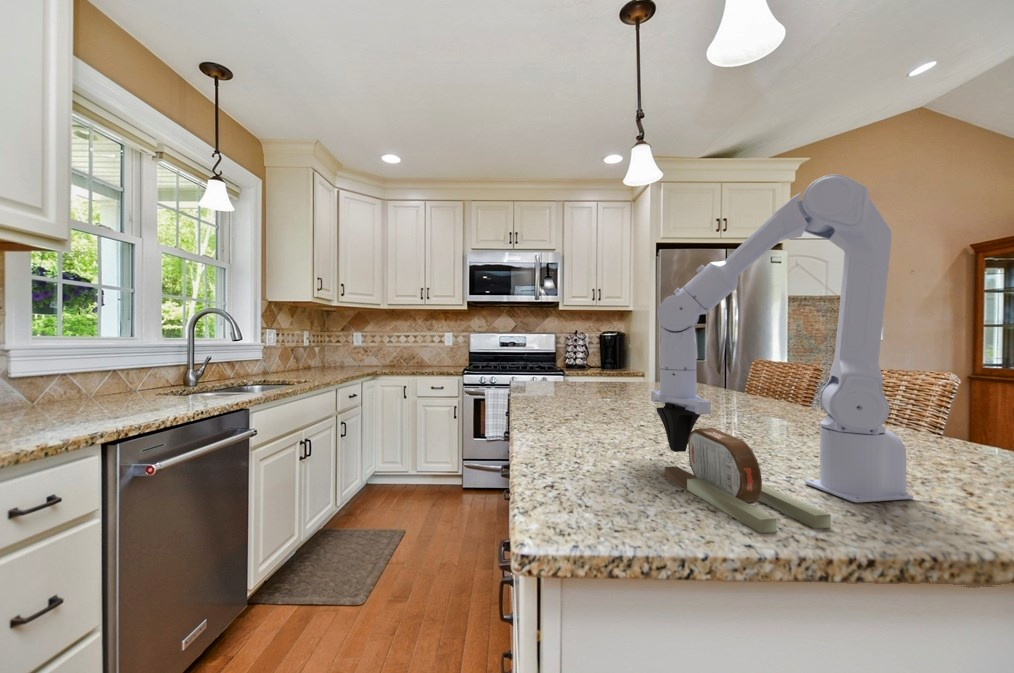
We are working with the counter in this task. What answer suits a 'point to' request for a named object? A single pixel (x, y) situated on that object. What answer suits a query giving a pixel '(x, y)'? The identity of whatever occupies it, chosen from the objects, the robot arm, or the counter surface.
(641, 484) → the counter surface
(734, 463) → the tin
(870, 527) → the counter surface
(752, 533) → the counter surface
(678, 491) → the counter surface
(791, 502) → the rail
